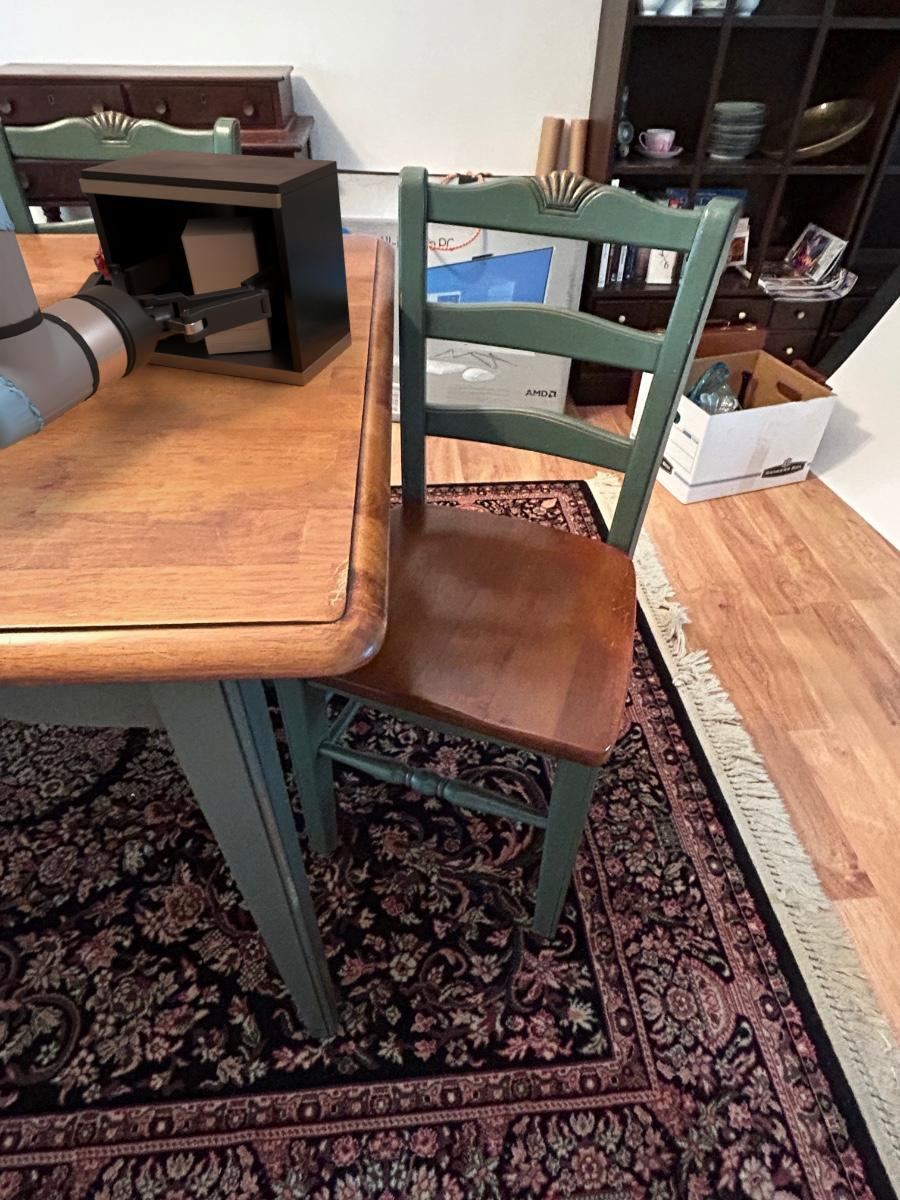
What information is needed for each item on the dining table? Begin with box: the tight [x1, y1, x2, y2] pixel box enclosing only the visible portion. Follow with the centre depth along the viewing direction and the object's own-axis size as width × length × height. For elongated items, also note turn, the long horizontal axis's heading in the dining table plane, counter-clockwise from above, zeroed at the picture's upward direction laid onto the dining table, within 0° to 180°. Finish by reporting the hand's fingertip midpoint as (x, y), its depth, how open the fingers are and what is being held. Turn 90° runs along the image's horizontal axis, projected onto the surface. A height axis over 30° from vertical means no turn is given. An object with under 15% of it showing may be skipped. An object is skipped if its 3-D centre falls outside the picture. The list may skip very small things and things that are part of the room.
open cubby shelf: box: [78, 149, 353, 387], centre depth 81 cm, size 22×14×20 cm, turn 72°
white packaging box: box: [181, 216, 272, 354], centre depth 82 cm, size 7×7×13 cm
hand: (220, 272), depth 80 cm, fingers open, 13 cm apart
